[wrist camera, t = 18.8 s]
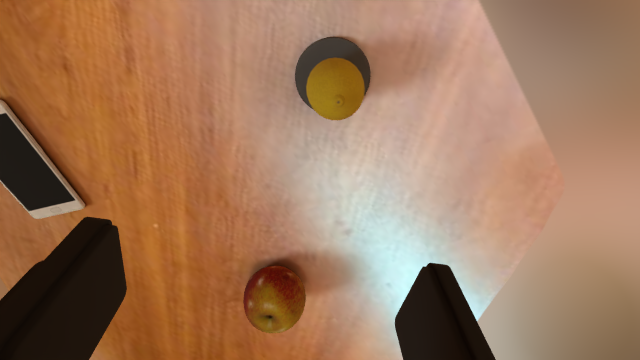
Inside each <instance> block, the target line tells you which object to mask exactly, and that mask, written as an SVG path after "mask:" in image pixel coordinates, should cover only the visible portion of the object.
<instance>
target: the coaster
mask: <svg viewBox="0 0 640 360" xmlns="http://www.w3.org/2000/svg"><path fill="white" fill-rule="evenodd" d="M328 58H342V59H345V60H347V61H350V62H351V63H352V64H354V65H355V66H356V67H357V68H358V70H359V71H360V73H361V75H362V78H363V80H364V87H365V92H364V96H365V94H366V92H367V89H368V87H369V83H370V67H369V63H368V60H367V58H366V56H365V55H364V53H363V52H362V51H361V49H360V48H359V47H358V46H357V45H355V44H354V43H352V42H351V41H349V40H346V39H343V38H338V37H329V38H324V39H321V40H318V41H316V42H315V43H313V44H311V45H310V46H309V47H308V48H307V49H306V50H305V51H304V52H303V54H302V55H301V57H300V59H299V61H298V63H297V67H296V73H295V81H296V87H297V90H298V93H299V95H300V96H301V98H302V99H303V101H304V102H305V103H306V104H307V105H308V106H309V107H311V108H312V106H311V104H310V103H309V100H308V97H307V89H306V86H307V81H308V77H309V75H310V73H311V71H312V70H313V68H314V67H315V66H316V65H317V64H319V63H320V62H321V61H323V60H326V59H328ZM312 109H313V108H312Z"/></svg>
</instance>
